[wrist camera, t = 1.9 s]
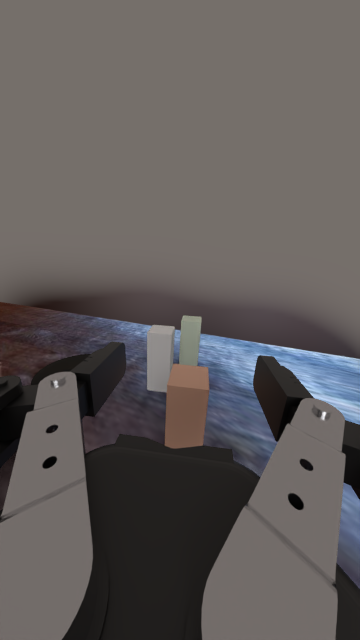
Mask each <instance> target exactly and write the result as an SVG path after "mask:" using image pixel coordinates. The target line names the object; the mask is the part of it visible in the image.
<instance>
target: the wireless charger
mask: <svg viewBox="0 0 360 640" xmlns="http://www.w3.org/2000/svg"><path fill="white" fill-rule="evenodd" d="M90 355H91V354H84V355H77V356H72V357H67V358H64V359H61V360H58V361H56V362H53V363H51V364H49V365H47V366H46V367H44V368H43V369H41V370H40V371H39V372H38V373H37V374H36V375H35V376H34V377H33V379H32V382H31V385H39V383H40V381H41V380H43V379H44V378H46V377H47V376H49V375H52V374H55V373H59V372H70V371H71V370H72V369H73V368H75V367H76V366H77V365H78V364H80V363H81V362H82V361H84V360H85V359H86V358H87V357H88V356H90Z"/></svg>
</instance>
